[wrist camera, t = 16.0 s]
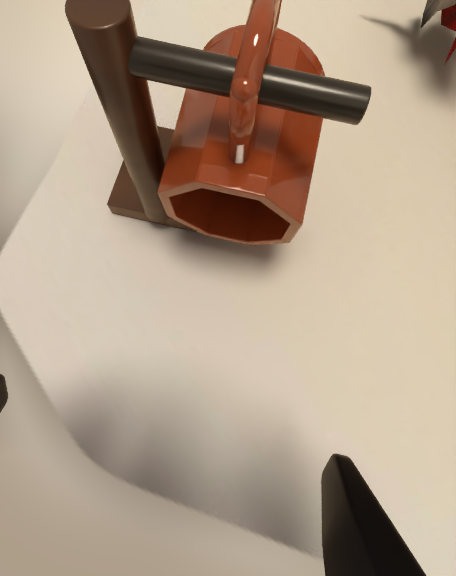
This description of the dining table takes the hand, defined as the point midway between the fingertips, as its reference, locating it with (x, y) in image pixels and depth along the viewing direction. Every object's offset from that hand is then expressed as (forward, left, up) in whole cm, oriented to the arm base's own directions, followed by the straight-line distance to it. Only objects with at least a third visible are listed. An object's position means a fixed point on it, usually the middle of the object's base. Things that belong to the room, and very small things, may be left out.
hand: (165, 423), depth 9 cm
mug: (+16, +6, -3) cm, 17 cm away
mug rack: (+12, +7, -11) cm, 18 cm away
